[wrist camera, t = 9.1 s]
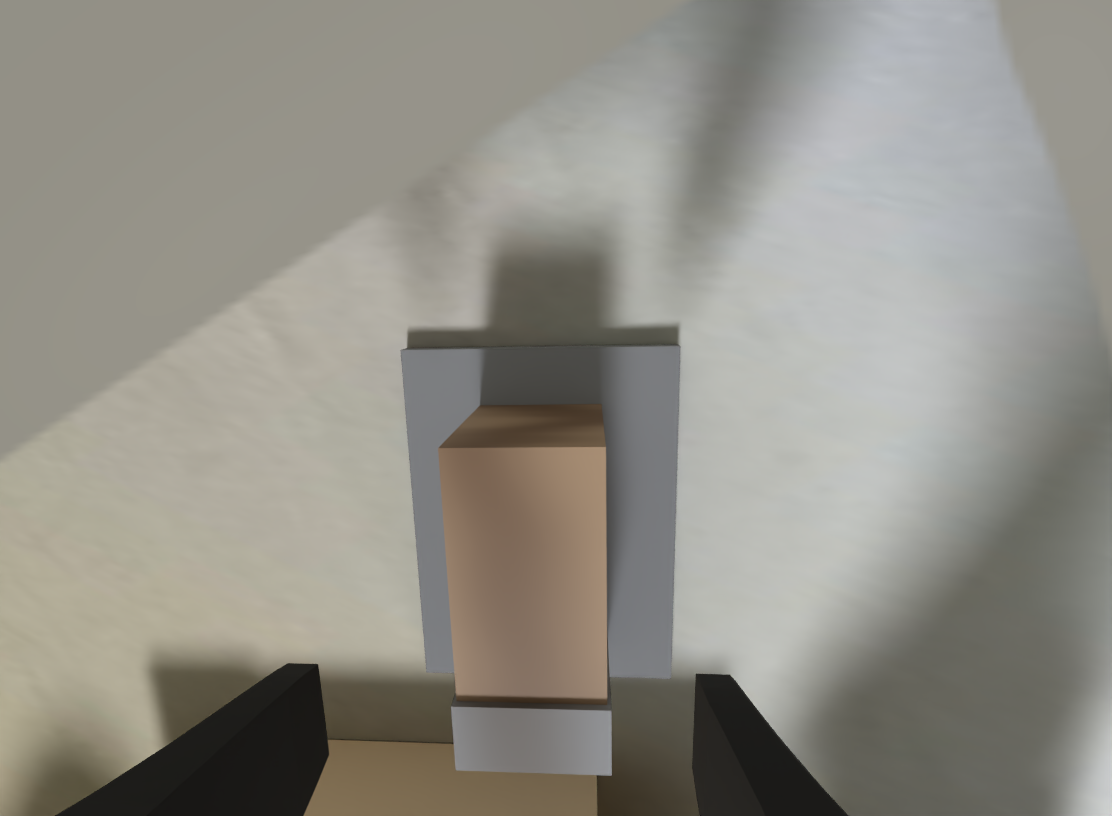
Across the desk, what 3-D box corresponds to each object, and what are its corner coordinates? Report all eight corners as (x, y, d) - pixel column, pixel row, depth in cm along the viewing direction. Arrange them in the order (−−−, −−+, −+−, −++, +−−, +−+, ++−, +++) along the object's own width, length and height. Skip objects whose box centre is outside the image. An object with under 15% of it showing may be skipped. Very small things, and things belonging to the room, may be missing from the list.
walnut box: (604, 404, 17) (610, 449, 12) (605, 648, 19) (611, 775, 14) (476, 405, 18) (431, 450, 13) (490, 646, 20) (455, 770, 14)
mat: (677, 344, 17) (680, 346, 17) (668, 667, 20) (671, 678, 19) (406, 348, 18) (400, 350, 17) (431, 661, 21) (426, 672, 20)
